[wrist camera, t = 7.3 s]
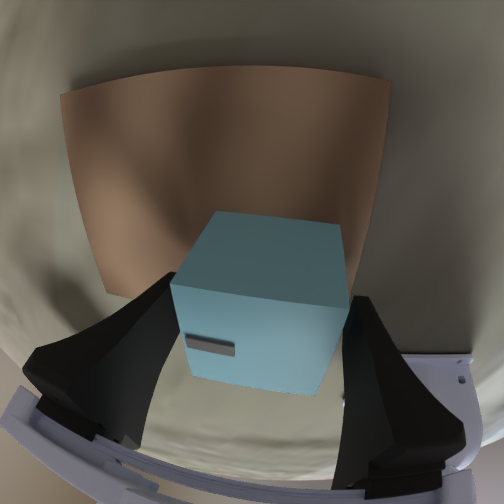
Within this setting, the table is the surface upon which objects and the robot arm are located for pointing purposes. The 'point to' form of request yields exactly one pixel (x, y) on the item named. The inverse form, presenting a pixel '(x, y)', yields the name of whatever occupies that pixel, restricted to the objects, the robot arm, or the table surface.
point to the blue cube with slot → (262, 301)
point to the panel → (220, 159)
